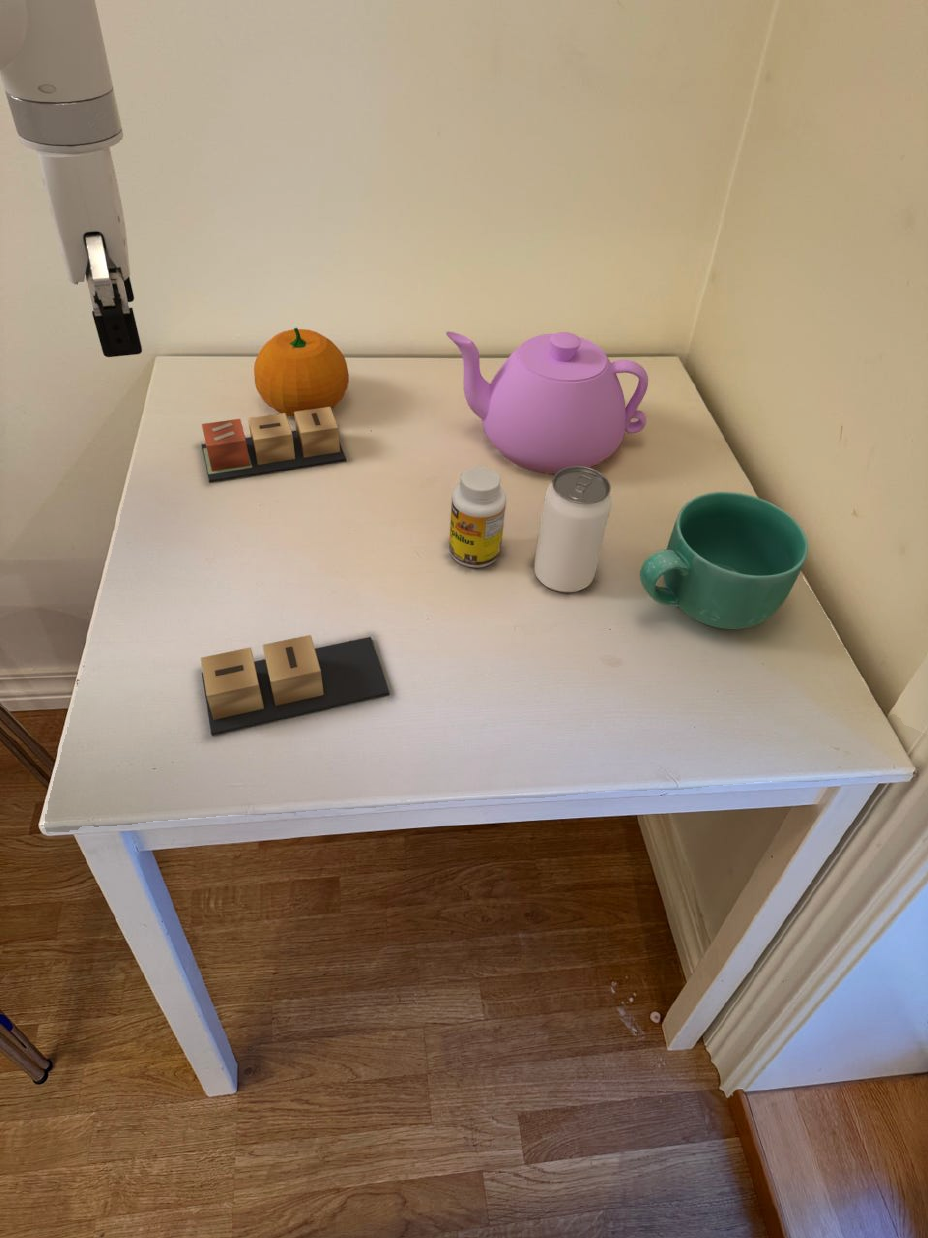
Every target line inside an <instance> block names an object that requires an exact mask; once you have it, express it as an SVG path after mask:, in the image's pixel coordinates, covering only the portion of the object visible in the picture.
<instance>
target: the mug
mask: <svg viewBox="0 0 928 1238" xmlns="http://www.w3.org/2000/svg"><path fill="white" fill-rule="evenodd" d="M808 553H809V543H808V539H807V535H806V533H805V531H804V529H803V528H802V526H801V525H800V524H799V523H798V522H797V521H796V519H795V518H793V516H791V515H790V514H789V513H788V512H787V511H785V510H783V509H782V508H781V507H779V506H778V505H775V504H773V503H772V502H770V501H767V500H766V499H762V498H760V497H757V496H754V495H750V494H747V493H740V492H734V491H715V492H714V491H713V492H707V493H704V494H700V495H697V496H696V497H694V498H692V499H690V500H689V501H687V502H686V503H685V504H683V506H682V507H681V509H680V510H679V512H678V513H677V517H676V519H675V521H674V524H673V528H672V531H671V533H670V537H669V539H668V542H667V547H666V549H661V550H659V551H656V552H654V553H652V554H651V555H650V556H648V557H647V558H646V559H645V560H644V562H643V563H642V565H641V568H640V570H639V580H640V583H641V585H642V587H643V589H644V591H646V593H647V594H648V596H649V597H650V598H652V599H653V600H654V601H655V602H657V603H659V604H662V605H666V606H677V607H678V608H679V609H680V610H682V611H683V612H684V613H685V614H687V615H688V616H690V617H691V618H692V619H695V620H696V621H698V622H700V623H703V624H704V625H708V626H711V627H715V628H719V629H727V630H740V629H741V630H742V629H747V628H751V627H755V626H757V625H759V624H761V623H764V622H765V621H767V620H768V619H770V618H771V617H772V616H773V615H774V614H776V612H778V611H779V609H780V608H781V607H782V605H783V604H784V602H785V601H786V599H787V597H788V596H789V595H790V592H792V591H791V590H792V589H793V587H794V585H795V583H796V581H797V580H798V577H799V576H800V573H801V571H802V569H803V567H804V565H805V562H806V560H807V557H808ZM661 577H662V579H663V583H664V586H665V587H663V586H659V585H657V583H658V582H659V580H660V579H661Z"/></svg>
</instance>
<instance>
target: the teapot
mask: <svg viewBox="0 0 928 1238" xmlns="http://www.w3.org/2000/svg"><path fill="white" fill-rule="evenodd" d="M445 335H446V336H447V337H448V338H449V339H450V341H451V342H453V343H454V344H455V345H456V346H457V348H458V350H459V352H460V353H461V356H462V362H463V394H464V398H465V401H466V403H467V405H468V407H469V409H470V410H471V411H472V413H474V414H475V415H476V416H477V417H478V418H479V419H480V420H481V424H482V428H483V431H484V434H485V436H486V438H487V439H488V441H489V442H490V443H491V444H492V446H493V447H494V448H495V449H497V451H498V452H499V453H500V454H501V455H502V456H504V457H505V458H506V460H509V461H510V462H512V463H513V464H515V465H517V466H519V467H522V468H524V469H527V470H529V471H533V472H536V473H542V474H551V475H555V474H556V473H557V472H558V471H560V470H561V469H564V468H567V467H572V466H582V467H588V468H593V467H594V466H596V465H598V464H601V462H603V461H605V460H607V458H609V457H611V456H612V455H613V454H614V453H615V452H616V451H617V450H618V448H619V446H620V445H621V443H622V442H623V440H624V437H625V433H627V434H631V435H632V434H633V435H635V434H637V433H640V432H641V431H642V430H644V428H645V426H646V424H647V417H646V414H645V413H644V412H643V411H642V410H639V409H638V408H639V406H640V405H641V403H642V401H643V399H644V397H645V396H646V394H647V393H646V392H647V391H648V386H649V375H648V373H647V370H646V369H645V368H644V366H642V365H641V364H640V363H638V362H637V361H634V360H630V359H618V360H614V361H613V362H611V360H610V359H609V357H608V356H607V353H606V352H605V351H604V350H603V349H602V348H601V347H600V346H598V344H596V343H595V342H593V341H591V340H589V339H587V338H584V337H581V336H578V335H576V333H575V334H574V333H573V332H569V331H557V332H555V333H543V334H539V335H536V336H533V337H531V338H529V339H526V340H525V341H524V342H522V343H521V344H520V345H519V346H518V347H517V348H516V349H515V350H514V351H513V352H512V353H511V354H510V356H509V357H508V358H507V359H506V360H505V361H504V362H503V364H502V365H501V366H500V368H499V369H498V370H497V371H496V373H495V374H494V376H493V378H492V380H491V382H488V381H487V380H486V379H485V378H484V377H483V376H482V372H481V366H480V365H481V364H480V352H479V349H478V347H477V346H476V344H475V343H474V341H473V340H471V339H470V338H468V337H467V336H465V335H464V334H461V333H457V332H455V331H446V332H445ZM617 374H631V375H634V376H635V377H637V378H638V383H637V385H636V389H635V390H634V393H633V394H632V396H631V398H630V400H629V401H628V403H627V404H626V400H625V396H624V392H623V388H622V385H621V382H620V380H619V378H618V375H617ZM632 419H637V420H636V421H631V420H632Z"/></svg>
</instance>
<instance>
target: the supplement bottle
mask: <svg viewBox="0 0 928 1238" xmlns="http://www.w3.org/2000/svg"><path fill="white" fill-rule="evenodd" d="M501 480H502V479H501V477H500V473H498V472H497V471H496V470H495V469H493V468H491V467H489V466H484V465H473V466H470V467H467V468H466V469H464V470H463V472H462V473H461V474H460V482H459V483H458V484H457V485H455V487H454V488H453V490H452V493H451V504H450V506H451V508H450V523H449V541H448V549H449V553H450V555H451V557H452V558H453V559H454V560H455V561H456V562H457V563H459V564H460V565H462V566H465V567H469V568H477V569H478V568H484V567H487V566H489V565H491V564H493V563H494V562H495V561H497V559H498V558H499V556H500V554H501V548H502V540H503V534H504V525H505V516H506V509H507V508H506V507H507V494H506V491H505V490H504V488H503V487H502V486H501Z"/></svg>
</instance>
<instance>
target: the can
mask: <svg viewBox="0 0 928 1238" xmlns="http://www.w3.org/2000/svg"><path fill="white" fill-rule="evenodd" d="M611 487H612V486H611V483H610V481H609V479H608V478H607V476H605V475H604V474H603V473H601V472H600V471H598V470H596V469H593V468H592V467H590V468H588V467H582V466H572V467H567V468H564V469H561V470H560V471H558V472H557V473H556V474H553V477H552V481H551V482H550V484H549V485H548V487H547V489H546V492H545V495H544V496H545V497H544V502H543V506H542V507H543V509H542V514H541V521H540V526H539V531H538V539H537V545H536V550H535V557H534V565H533V571H534V575H535V576H536V578H537V579H538V581H539V582H540V583H541V584H542V585H543V586H545V587H546V588H548V589H550V590H552V591H554V592H555V591H556V592H560V593H568V594H569V593H577V592H579V591H582V590H584V589H586V588H587V587H589V586H590V585H591V584H592V582H593V580H594V579H595V575H596V572H597V571H596V570H597V567H598V563H599V559H600V556H601V551H602V547H603V543H604V539H605V534H606V530H607V526H608V521H609V518H610V512H611V509H612V504H613V503H612V501H613V499H612V495H611V494H612V493H611V491H612V490H611V489H612V488H611Z"/></svg>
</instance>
